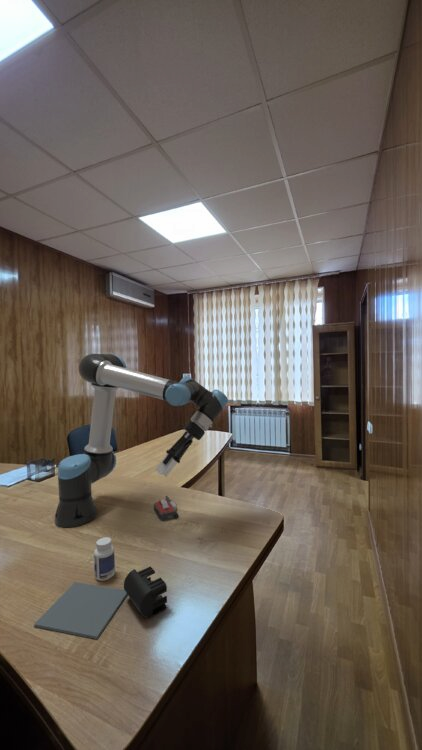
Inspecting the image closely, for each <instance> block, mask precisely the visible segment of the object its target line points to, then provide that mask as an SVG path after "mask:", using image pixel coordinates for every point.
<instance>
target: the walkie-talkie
mask: <svg viewBox="0 0 422 750" xmlns="http://www.w3.org/2000/svg"><path fill="white" fill-rule="evenodd" d="M164 498H165V499H160V500H159V501H157V502H155V503H154V504H153V511H154V512H155V514H156V516H157V517H158V519H159V521H161V522H165V521H169V520H173V519H177V518H179V513H178V512H177V504H176V503H175V501H174V500H173V501H172V500H171V499H170V498H169V497H168V495H165V497H164Z"/></svg>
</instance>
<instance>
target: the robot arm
mask: <svg viewBox="0 0 422 750" xmlns="http://www.w3.org/2000/svg"><path fill="white" fill-rule="evenodd" d="M78 373H79V376H80V377H81V378H82V380H84V381H85V382H87V383H90V384H91V385H90V386H92V387H93V389H94V390H93V391H94V392H93V400H92V409H91V410H92V411H91V418H90V419H91V420H90V429H89V436H88V437H89V438H88V444H86V445H85V446H84V449H83V453H79V454H74V455H70V456H66V457H65V458H63V459H62V460H61V461H60V462H59V464H58V466H57V468H58V469H57V481H58V483H57V485H58V504H57V507H56V510H55V515H54V525H56V526H58V527H59V528H60V527H61V528H74V527H79V526H82V525H84V524H87V523H90V522H91V521H93V520H94V519H95V518H96V517H97V516H98V508H97V505H96V503H95V500H94V498H93V496H92V492H93V491H92V485H93V484H94V483H96V482H98V481H99V480H101V479H103V478H105V477H107V476H108V475H110V473H112V472H114V471H113V470H114V469H115V468H116V465H117V456H116V455H115V452H114V451H113V449H114V448H113V446H112V445H111V435H112V427H113V419H114V411H115V410H114V409H115V402H116V401H115V400H116V391H118V389H123V390H126V391H131V392H134V393H138V394H141V395H144V396H149V397H151V398H156V399H159V400H163V401H165V402H167V403H168V404H170V406H173V407H174V406H175V407H181V406H184V405H187V404H188V403H192V404H193V405H194V406H197V407H198V409H196V410H197V411H195V413H194V414H193V415H192V416H191V418H190V420H188V421H187V423H186V424H185V426H184V427H183V429H184V433H182V434H183V435H182V436H180V438H179V439H177V441H176V442H175V443H174V444H173V445H172V446H171V447H170V448H169V449H166V451H165V453H166V455H165V456H164V457H163V459H161V461H160V462H159V464H157V466H156V467H155V469H154V470H155V471H156V472H157V473H158V474H159V475H160V476H161V475H163V476H164V477H165V478H166V477H168V475H169V474H170V472H172V470H173V469H174V467H175V466H176V465H177V464H180V463H181V459H182V458H183V456H184V455H185V453H186V452H187V450H188V449H189V447H190V446H191V445H192V444H193V443H194V440H193V439H195V440H197V441H200V440H201V439H202V438H203V436H204V435H205V433H206V432H207V431H208V430H209V429H210V428H212V427H213V424H214V422H215V421H216V419H217V418H218V417H219V415H220V414H221V413H222V412H223V411H224V409H225V408H226V406H227V405H228V404H229V399H228V396H227V395H225V393H224V392H222V391H221V390H219V389H213V390H212V391H211V390H209V389H207V388H206V387H205V386H203V385H202V384H200V383H199V382H198V381H196V379H194V378H192V377H190V376H189V375H188V376H187V375H186V376H184V377H183V378H182V379H181V380H180V381H176V380H171V379H168V378H163V377H160V376H156V375H153V374H148V373H145V372H142V371H141V372H140V371H137V370H135V369H134V370H133V369H130V368H127V365H126V361H124V360H123V358H122V357H120V356H119V355H116V354H112V353H90V354H87V355H85V356H83V357H82V359H81V360H80V362H79V363H78Z"/></svg>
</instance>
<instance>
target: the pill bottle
mask: <svg viewBox="0 0 422 750" xmlns="http://www.w3.org/2000/svg"><path fill="white" fill-rule="evenodd" d="M95 544H96V546H95V549H94V551H93V564H94V578H95V580H97V581H99V582H104V581H108V580H110V579H111V578H112V577H113V576H114V575H115V573H116V565H115V564H116V563H115V562H116V561H115V560H116V559H115V547H114V545H112V539H111V537H107V536H106V537H105V536H104V537H102V538H99V539H98V540H97V541H96V542H95Z"/></svg>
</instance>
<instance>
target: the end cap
mask: <svg viewBox="0 0 422 750" xmlns="http://www.w3.org/2000/svg"><path fill="white" fill-rule="evenodd" d="M154 574H156V570H155V569H154V568H153V567H152V566H148V567H145V568H144V569H141V570H139V571H137V570H136V569H135V568H134V569H132V570H131V571H130V572H129V573H127V574H126V577H125V579H124V582H123V590H125V591H126V593H127V594H128V595H127V596H128V598H129V599H130V600H131V602H132V603H133V604H134V606H135V607H136V609H137V610H138V612H139V614H140V615H141V616H142V617H144V618H148V619H152V618H153V617H155V616H157V615H159V614H161V613H163V612H164V611H166V610H167V605H166V604H167V603H168V596H167V595H164V596H163V595H162V594H165V593H166V592H167V591H168V587H167V583H166V582H165V581H164V579H162V577H158V578H157V579H154V580H152V577H151V576H152V575H154Z"/></svg>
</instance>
